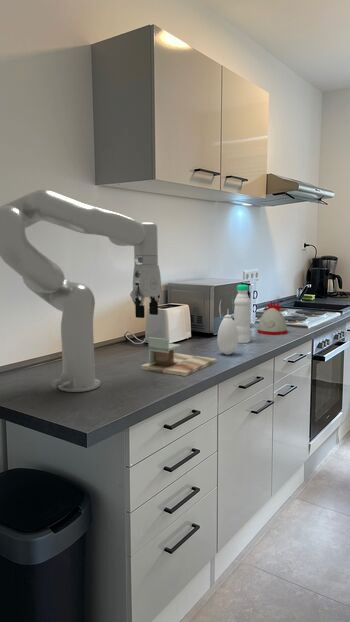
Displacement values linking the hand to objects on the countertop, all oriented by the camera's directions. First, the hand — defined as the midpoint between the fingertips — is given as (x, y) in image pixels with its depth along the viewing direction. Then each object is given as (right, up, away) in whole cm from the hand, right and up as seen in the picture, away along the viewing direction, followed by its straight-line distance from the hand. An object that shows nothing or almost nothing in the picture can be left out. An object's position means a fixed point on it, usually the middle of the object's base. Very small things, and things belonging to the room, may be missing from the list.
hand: (147, 315), depth 157 cm
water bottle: (+38, -12, +53) cm, 66 cm away
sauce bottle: (+30, -16, +30) cm, 45 cm away
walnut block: (+6, -18, +11) cm, 22 cm away
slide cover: (+6, -17, +11) cm, 21 cm away
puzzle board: (+11, -18, +14) cm, 25 cm away
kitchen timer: (+56, -9, +74) cm, 93 cm away
